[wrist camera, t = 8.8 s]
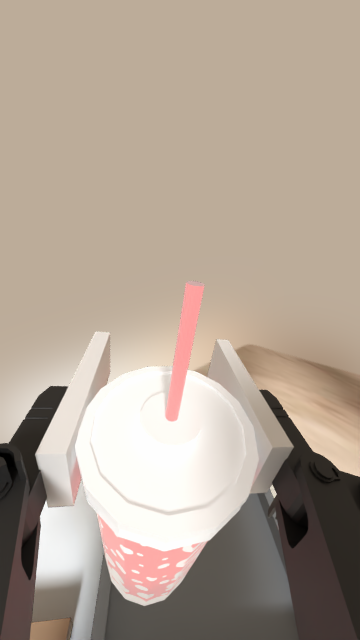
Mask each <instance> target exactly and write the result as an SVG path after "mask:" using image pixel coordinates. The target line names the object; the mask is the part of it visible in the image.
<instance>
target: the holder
mask: <svg viewBox="0 0 360 640" xmlns="http://www.w3.org/2000/svg"><path fill="white" fill-rule="evenodd" d="M72 626H73V625H72V621H71V618H64V619H56V620H49V621H41V622H33V623H31V632H30V640H70V636H71V631H72Z"/></svg>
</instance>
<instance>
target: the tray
mask: <svg viewBox="0 0 360 640" xmlns="http://www.w3.org/2000/svg"><path fill="white" fill-rule="evenodd" d="M273 500H274V498H273V495H272V493H271V491H270V488H269V490H268V492H267V493H252V494H249V496H248V498H247V500H246V502H245V503H244V504H243V505H242V506H241V508H240V510H239V511H238V512H237V513H236V514H235V515H234V516H233V517H232V518H231V519H230V520H229V521H228V522H227V523H226V524H225V525H224V526H223V527H222V528H221V529H220V530H219V531H218V532H217V533H216V534H215V535H214V536H213V537H212V538H211V539H210V540H208V541H207V543H206V544H205V546H204V548H203V549H202V551H201V552H200V554H199V555H198V557H197V558H196V560H195V562H194V563H193V565H192V566H191V568H190V569H189V571H188V572H187V574H186V576H185V577H184V579H183V580H182V582H181V583H180V584H179V585H178V586H177V587H176V588H175V589H174V590H173V592H172V593H171V594H170V595H169V596H168V597H167V598H166V599H165V600H162V601H159V602H156V603H153V604H149V605H146V606H143V605H141V604H138V603H135V602H132V601H129V600H126V599H125V598H124V597H123V596H122V594H121V593H120V592H119V590H118V589H117V588H116V587H115V585H114V584H113V583H112V581H111V578H110V574H109V570H108V566H107V562H106V558H105V553H104V555H103V562H102V569H101V575H100V582H99V588H98V595H97V601H96V608H95V614H94V621H93V628H92V634H91V640H299V637H298V632H297V626H296V621H295V615H294V610H293V604H292V599H291V593H290V588H289V582H288V577H287V571H286V566H285V560H284V555H283V549H282V544H281V538H280V533H279V527H278V522H277V520H276V519H275V517H276V511H275V513H274V514H273V516H272V517H271V518H269V517H268V509H269V507H270V505H271V503H272V501H273Z"/></svg>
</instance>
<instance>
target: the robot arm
mask: <svg viewBox="0 0 360 640" xmlns="http://www.w3.org/2000/svg"><path fill="white" fill-rule="evenodd" d="M109 374H110V332H109V333H108V332H95V334H94V336H93V338H92V340H91V342H90V344H89V346H88V348H87V350H86V352H85V354H84V356H83V358H82V361H81V362H80V364H79V367H78V369H77V370H76V372H75V374H74V376H73V378H72V380H71V382H70V385H69V387H66V386H63V387H62V386H50V387H49V388H48V389H46V390H45V391H44V392H43V393H42V394H40V395H39V396H38V398H37V400H36V401H35V403H34V404H33V406H32V408H31V410H30V411H29V413H28V414H27V415H26V417H25V420H23V422H22V423H21V425H20V426H19V428H18V430H17V431H16V433H15V434H14V436H13V437H12V439H11V441H10V442H9V444H8V443H3V444H0V640H30V632H31V621H32V611H33V600H34V590H35V580H36V569H37V559H38V549H39V538H40V528H41V524H40V515H41V512H42V509H43V507H44V504H45V501H46V500H47V504H48V508H49V507H63V506H74V503H75V499H76V495H77V492H78V488H79V484H80V481H81V474H80V469H79V465H78V460H77V456H76V452H75V444H76V440H77V436H78V431H79V428H80V425H81V422H82V420H83V417H84V414H85V411H86V408H87V407H88V405H89V404H90V403H91V401H92V400H93V398H94V397H95V396H96V394H97V393H98V392H99V390H100V389H101V388H103V387H104V386H106V385H107V381H108V377H109ZM208 378H210V379H212V380H213V381H215V382H217V383H219V384H220V385H221V386H222V387H223V388H225V389H226V390H227V391H228V392H229V393H230V394H231V395H232V396H233V397H234V398H235V399H236V400H238V401H239V403H240V405H241V406H242V408H243V410H244V412H245V413H246V415H247V417H248V418H249V420H250V422H251V424H252V425H253V427H254V433H255V439H256V445H257V451H258V457H259V461H258V465H257V468H256V472H255V475H254V479H253V482H252V486H251V489H250V493H249V494H252V493H267V492H268V490H269V488H270V487H271V485H272V484H273V486H274V488H275V491H276V493H277V495H276V497H275V498H274V500H273V501H272V503H271V505H270V507H269V509H268V517H269V518H271V517H272V516H273V514H274V513H275V511H276V517H275V519H276V520H277V522H278V527H279V533H280V538H281V544H282V549H283V555H284V560H285V566H286V571H287V577H288V582H289V588H290V593H291V599H292V604H293V610H294V615H295V621H296V626H297V632H298V637H299V640H360V477H358V476H355V475H352V474H348V473H345V472H342V471H339V470H338V469H337V468H336V467H335V466H334V465H333V463H332V462H331V461H329V460H328V459H326V458H325V457H324V456H322V455H320V454H317V453H315V452H313V451H312V449H311V448H310V447H309V445H308V444H307V442H306V441H305V439H304V438H303V436H302V435H301V433H300V432H299V430H298V429H297V427H296V426H295V425H294V423H293V422H292V420H291V419H290V418H289V417H288V414H287V413H286V411H285V410H283V407H282V405H281V404H280V403H279V401H278V400H277V398H276V397H275V396H273V395H272V394H271V393H270V392H269V391H268V390H259V389H258V388H257V386H256V384H255V383H254V381H253V379H252V378H251V376H250V374H249V373H248V371H247V370H246V368H245V366H244V365H243V363H242V361H241V360H240V358H239V357H238V355H237V353H236V352H235V350H234V348H233V347H232V345H231V344H230V342H229V340H221V339H220V340H219V339H216V343H215V347H214V351H213V355H212V359H211V363H210V367H209V371H208Z"/></svg>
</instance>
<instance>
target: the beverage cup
mask: <svg viewBox="0 0 360 640" xmlns="http://www.w3.org/2000/svg"><path fill="white" fill-rule="evenodd" d="M203 290H204V284H203V283H201V282H196V281H187V282H186V287H185V293H184V300H183V306H182V312H181V318H180V325H179V331H178V338H177V344H176V350H175V356H174V362H173V366H154V367H153V366H152V367H145V368H141V369H138V370H134V371H131V372H128V373H124V374H122V375H121V376H120V377H118V378H116V379H115V380H113V381H112V382H110V383H109V384H107V385H106V386H104V387H103V388H101V389H100V390H99V392H98V393H97V394H96V396H95V397H94V398H93V400H92V401H91V403H90V404H89V405H88V407H87V408H86V411H85V414H84V417H83V420H82V422H81V425H80V428H79V431H78V436H77V440H76V444H75V452H76V456H77V460H78V465H79V469H80V474H81V478H82V482H83V486H84V490H85V494H86V499H87V502H88V503H89V504H90V506H91V507H92V508H93V509H94V510H95V511H96V512H97V517H98V522H99V528H100V533H101V538H102V543H103V548H104V553H105V558H106V562H107V566H108V570H109V574H110V578H111V581H112V583H113V584H114V585H115V587H116V588H117V589H118V590H119V592H120V593H121V594H122V596H123V597H124V598H125V599H126V600H129V601H132V602H135V603H138V604H141V605H143V606H146V605H149V604H153V603H156V602H159V601H162V600H165V599H166V598H167V597H168V596H169V595H170V594H171V593H172V592H173V590H174V589H175V588H176V587H177V586H178V585H179V584H180V583H181V582H182V580H183V579H184V577H185V576H186V574H187V572H188V571H189V569H190V568H191V566H192V565H193V563H194V562H195V560H196V558H197V557H198V555H199V554H200V552H201V551H202V549H203V548H204V546H205V544H206V543H207V541H208V540H210V539H211V538H212V537H213V536H214V535H215V534H216V533H217V532H218V531H219V530H220V529H221V528H222V527H223V526H224V525H225V524H226V523H227V522H228V521H229V520H230V519H231V518H232V517H233V516H234V515H235V514H236V513H237V512H238V511H239V510H240V508H241V506H242V505H243V504H244V503H245V502H246V500H247V498H248V496H249V493H250V489H251V486H252V482H253V479H254V475H255V472H256V468H257V465H258V461H259V457H258V451H257V445H256V439H255V433H254V427H253V425H252V424H251V422H250V420H249V418H248V417H247V415H246V413H245V412H244V410H243V408H242V406H241V405H240V403H239V401H238V400H236V399H235V398H234V397H233V396H232V395H231V394H230V393H229V392H228V391H227V390H226V389H225V388H223V387H222V386H221V385H220V384H219V383H217V382H215V381H213V380H212V379H210V378H208V377H206V376H204V375H202V374H200V373H198V372H196V371H191V370H188V365H189V360H190V355H191V350H192V345H193V340H194V335H195V330H196V325H197V320H198V315H199V310H200V305H201V300H202V295H203Z"/></svg>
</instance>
